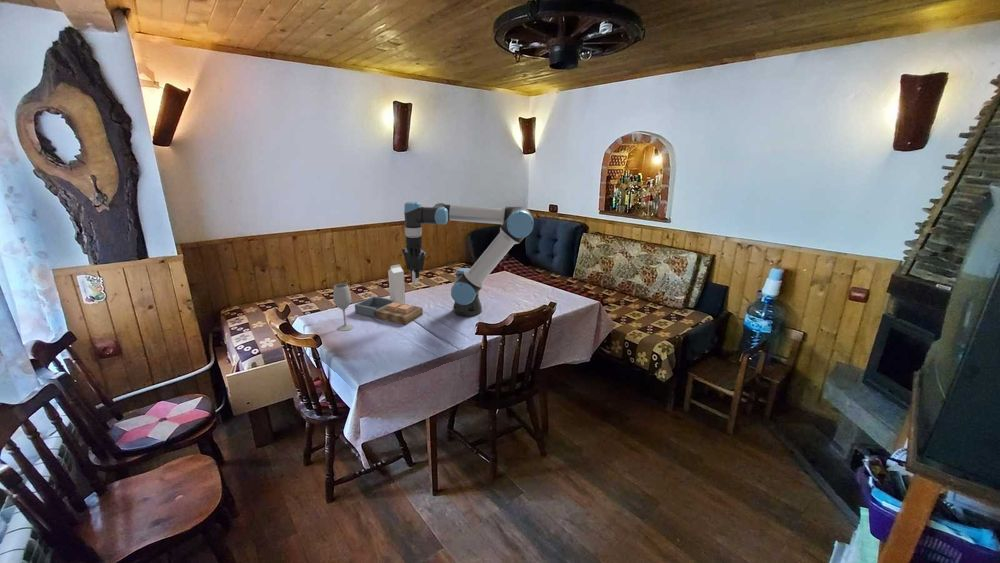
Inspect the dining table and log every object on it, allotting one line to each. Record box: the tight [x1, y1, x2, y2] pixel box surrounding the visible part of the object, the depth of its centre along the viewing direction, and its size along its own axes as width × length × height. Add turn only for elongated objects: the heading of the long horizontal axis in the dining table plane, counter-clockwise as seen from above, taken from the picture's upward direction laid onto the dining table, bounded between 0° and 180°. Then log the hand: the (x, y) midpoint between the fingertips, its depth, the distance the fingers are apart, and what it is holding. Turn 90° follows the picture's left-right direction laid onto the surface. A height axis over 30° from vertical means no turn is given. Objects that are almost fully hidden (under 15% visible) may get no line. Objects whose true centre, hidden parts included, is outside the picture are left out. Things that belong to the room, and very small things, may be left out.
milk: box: [387, 264, 406, 304], centre depth 212 cm, size 6×6×22 cm
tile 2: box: [398, 303, 413, 313], centre depth 196 cm, size 5×5×2 cm
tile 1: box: [387, 302, 402, 311], centre depth 198 cm, size 5×5×2 cm
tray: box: [354, 295, 393, 319], centre depth 204 cm, size 13×14×5 cm
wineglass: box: [332, 283, 355, 332], centre depth 182 cm, size 8×8×21 cm
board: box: [375, 302, 424, 326], centre depth 198 cm, size 18×14×4 cm
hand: (415, 283), depth 189 cm, fingers closed
